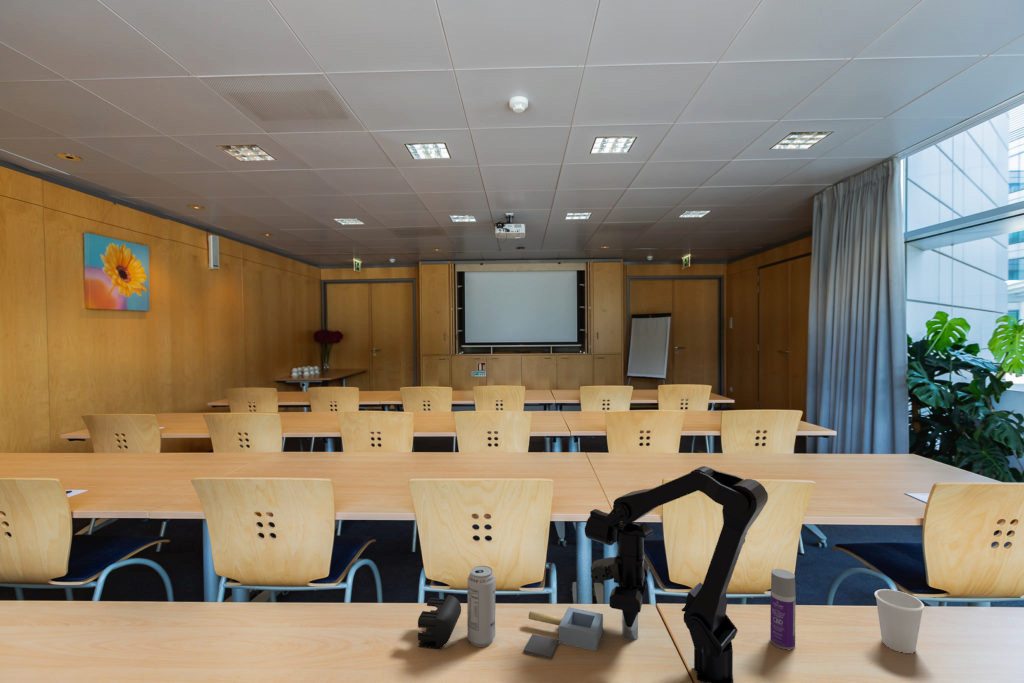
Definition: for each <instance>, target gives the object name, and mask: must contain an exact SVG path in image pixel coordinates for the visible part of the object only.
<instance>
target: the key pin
mask: <svg viewBox="0 0 1024 683" xmlns="http://www.w3.org/2000/svg"><path fill="white" fill-rule="evenodd" d="M621 614H622V615H621V620H622V623H621V626H622V628H621V633H622V634H621V635H622V637H623V639H624V640H627V641H636V640H638V639H639V613H638V614H637V616H636V618H635V620H634V623H633V625H632V627H627V626H626V623H625V619H624V615H623V611H622V610H621Z"/></svg>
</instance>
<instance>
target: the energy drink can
mask: <svg viewBox="0 0 1024 683" xmlns="http://www.w3.org/2000/svg"><path fill="white" fill-rule="evenodd" d="M493 571H494V570H493V568H492V567H490V566H487V565H476V566H474V567H472V568H471V569H470V570H469V575H468V577H467V609H466V610H467V622H466V623H467V625H466V626H467V631H466V632H467V636H466V637H467V639H468V640H469V642H470V643H471V645H473V646H475V647H480V648H484V647H487V646H489V645H491V644H492V643H493V641H494V639H495V638H496V576H495V574H494V572H493Z"/></svg>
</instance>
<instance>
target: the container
mask: <svg viewBox="0 0 1024 683" xmlns="http://www.w3.org/2000/svg"><path fill="white" fill-rule="evenodd" d="M770 578H771V579H770V643H771V644H772V643H773V644H774V645H773V644H772V645H773V646H775V645H776V646H777V647H776V646H775V647H776V648H778V647H780V648H779V649H781V648H782V649H781V650H785V649H790V650H789V651H792V650H794V649H795V648H796V606H797V605H796V575H795V574H794V573H793V572H791V571H789V570H787V569H782V568H773V569H772V570H771V572H770ZM791 649H792V650H791Z"/></svg>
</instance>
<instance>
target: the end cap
mask: <svg viewBox="0 0 1024 683" xmlns="http://www.w3.org/2000/svg"><path fill="white" fill-rule="evenodd" d="M426 607H435V608H436V610H434V609H433V610H432V609H431V610H430V611H426V610H423V611H422V612H421V613H420V614H419V616H418V620H417V628H421V629H425V630H424V631H423V630H422V631H421V632H417V641H418V647H419V648H421V649H429V650H430V649H433V650H440V649H441V648H442V647H444V646H445V645H446V644H448V643H449V640H450V639H451V636H452V634H453V631H454V630H455V627H456V625H457V623H458V621H459V619H460V616H461V613H462V605H461V603H460V601H459V600H458V599H457V597H455V596H454V595H451V594H448V595H447V597H446V598H436V597H435V598H433V597H430V598H429V599H428V601H427V603H426Z"/></svg>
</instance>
